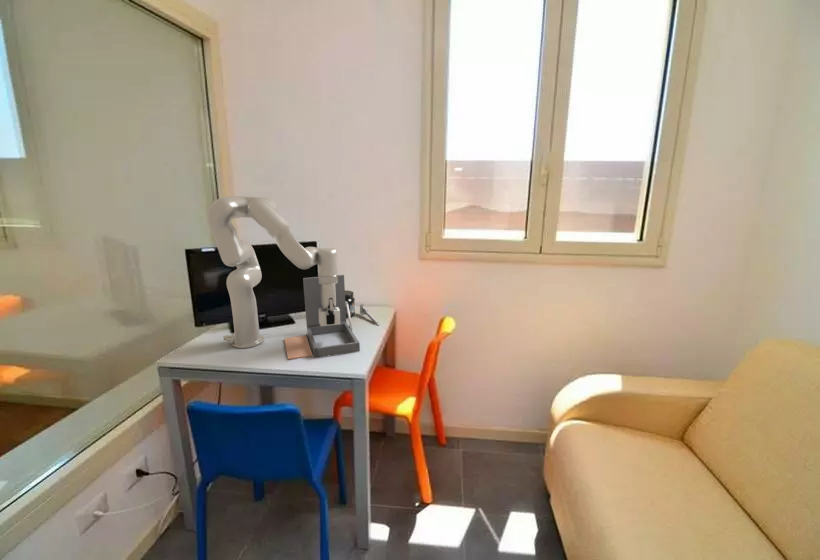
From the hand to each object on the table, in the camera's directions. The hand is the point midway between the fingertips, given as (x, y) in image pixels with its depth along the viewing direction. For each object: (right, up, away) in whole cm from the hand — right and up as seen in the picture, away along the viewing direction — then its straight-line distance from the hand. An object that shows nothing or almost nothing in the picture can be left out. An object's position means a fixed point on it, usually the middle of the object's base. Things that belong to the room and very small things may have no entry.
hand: (329, 321), depth 165 cm
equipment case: (+1, -9, +2) cm, 9 cm away
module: (0, -1, 0) cm, 1 cm away
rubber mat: (-12, -10, -3) cm, 16 cm away
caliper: (+13, -3, +31) cm, 34 cm away
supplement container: (0, -1, +36) cm, 36 cm away
